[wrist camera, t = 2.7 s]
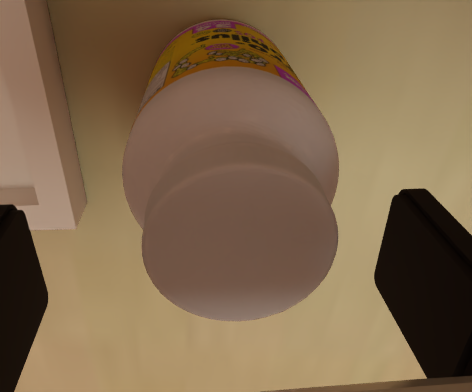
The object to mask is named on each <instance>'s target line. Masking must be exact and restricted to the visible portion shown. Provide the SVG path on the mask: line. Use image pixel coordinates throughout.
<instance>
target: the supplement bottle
mask: <svg viewBox="0 0 472 392" xmlns="http://www.w3.org/2000/svg"><path fill="white" fill-rule="evenodd" d="M338 176H339V160H338V152H337V147H336V143H335V139H334V136H333V134H332V131H331V129H330V127H329V125H328V123H327V121H326V119H325V118H324V116H323V115H322V113H321V112H320V110H319V109H318V107H317V106H316V104H315V103H314V101H313V100H312V99H311V97H310V96H309V94H308V93H307V91H306V90H305V88H304V87H303V85H302V83H301V82H300V80H299V79H298V77H297V76H296V74H295V73H294V71H293V70H292V68H291V67H290V65H289V64H288V62H287V61H286V59H285V58H284V56H283V55H282V54H281V52H280V51H279V49H278V48H277V47H276V46H275V44H274V43H273V42H272V41H271V40H270V39H269V38H268V37H267V36H266V35H265V34H263V33H262V32H260V31H259V30H258V29H256V28H254V27H252V26H250V25H247V24H245V23H242V22H238V21H234V20H226V19H217V20H208V21H204V22H201V23H197V24H195V25H193V26H190V27H188V28H186V29H185V30H183V31H182V32H180V33H179V34H178V35H176V36H175V37H174V38H173V39H172V40H171V41H170V42H169V43H168V44H167V46H166V47H165V48H164V50H163V51H162V53H161V55H160V56H159V58H158V60H157V62H156V65H155V67H154V69H153V72H152V74H151V77H150V80H149V82H148V85H147V88H146V90H145V93H144V96H143V99H142V102H141V105H140V107H139V110H138V113H137V116H136V119H135V121H134V124H133V126H132V129H131V132H130V135H129V138H128V141H127V145H126V148H125V152H124V157H123V166H122V177H123V186H124V191H125V195H126V199H127V202H128V204H129V207H130V209H131V211H132V213H133V215H134V217H135V219H136V220H137V222H138V223H139V225H140V226H141V228H142V229H143V235H142V257H143V261H144V265H145V268H146V271H147V273H148V275H149V277H150V278H151V280H152V282H153V284H154V285H155V286H156V288H157V289H158V290H159V291H160V293H161V294H162V295H164V296H165V297H166V298H167V299H168V300H170V301H171V302H172V303H173V304H175V305H177V306H178V307H180V308H182V309H184V310H186V311H188V312H190V313H193V314H195V315H198V316H201V317H205V318H209V319H214V320H222V321H247V320H254V319H260V318H264V317H268V316H271V315H274V314H277V313H280V312H283V311H285V310H287V309H288V308H290V307H292V306H294V305H296V304H297V303H299V302H300V301H302V300H303V299H305V298H306V297H307V296H308V295H309V294H311V293H312V292H313V291H314V290H315V289H316V288H317V287H318V286H319V285H320V283H321V282H322V281H323V279H324V278H325V277H326V275H327V273H328V272H329V270H330V268H331V266H332V263H333V260H334V258H335V255H336V251H337V245H338V227H337V222H336V218H335V215H334V212H333V210H332V208H331V204H332V201H333V198H334V196H335V192H336V188H337V183H338Z"/></svg>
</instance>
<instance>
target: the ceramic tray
mask: <svg viewBox="0 0 472 392" xmlns="http://www.w3.org/2000/svg"><path fill="white" fill-rule="evenodd" d="M6 204H13V205H15V207H16V208H17V210H23V211H24V213H25V215H26V219H27V222H28V225H29V229H30V230H58V229H76V228H77V226H78V224H79V221H80V219H81V216H82V214H83V212H84V209H85V207H86V204H87V199H86V194H85V189H84V184H83V179H82V174H81V169H80V164H79V159H78V154H77V149H76V144H75V139H74V134H73V130H72V125H71V120H70V115H69V110H68V105H67V100H66V95H65V90H64V85H63V80H62V75H61V70H60V65H59V60H58V55H57V50H56V45H55V40H54V35H53V30H52V25H51V20H50V15H49V10H48V5H47V1H46V0H0V205H6Z"/></svg>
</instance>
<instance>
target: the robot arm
mask: <svg viewBox="0 0 472 392" xmlns="http://www.w3.org/2000/svg"><path fill="white" fill-rule="evenodd" d="M374 279H375V284H376V286H377V288H378V290H379V292H380V294H381V296H382V297H383V299H384V301H385V303H386V305H387V306H388V308H389V310H390V312H391V314H392V316H393V317H394V319H395V321H396V323H397V325H398V326H399V328H400V330H401V332H402V334H403V335H404V337H405V339H406V341H407V343H408V344H409V346H410V348H411V350H412V352H413V353H414V355H415V357H416V359H417V361H418V362H419V364H420V366H421V368H422V370H423V371H424V373H425V375H426V377H427V379H415V380H402V381H389V382H376V383H363V384H350V385H337V386H324V387H311V388H299V389H287V390H275V391H262V392H472V235H471V234H470V233H469V232H468V231H467V230H466V229H465V228H464V227H463V226H462V225H461V224H460V223H459V222H458V221H457V220H456V219H455V218H454V217H453V216H452V215H451V214H450V213H449V212H448V211H447V210H446V209H445V208H444V207H443V206H442V205H441V204H440V203H439V202H438V201H437V200H436V199H435V198H434V197H433V195H432V194H431V193H430V192H429V191H428V190H426V189H403V190H401V191H400V192H399V194H398V195H395V196H394V197H393V199H392V202H391V206H390V211H389V215H388V219H387V223H386V227H385V231H384V236H383V240H382V244H381V248H380V252H379V256H378V260H377V265H376V269H375V274H374ZM47 304H48V291H47V288H46V284H45V281H44V277H43V274H42V270H41V267H40V263H39V260H38V257H37V253H36V250H35V246H34V243H33V239H32V236H31V232H30V229H29V225H28V222H27V219H26V215H25V213H24V211H23V210H17V208H16V207H15V205H13V204H6V205H0V392H14V390H15V388H16V385H17V383H18V380H19V377H20V375H21V372H22V370H23V367H24V364H25V362H26V359H27V357H28V354H29V351H30V349H31V346H32V344H33V341H34V339H35V336H36V333H37V331H38V328H39V326H40V323H41V320H42V318H43V315H44V313H45V310H46V307H47Z"/></svg>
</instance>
